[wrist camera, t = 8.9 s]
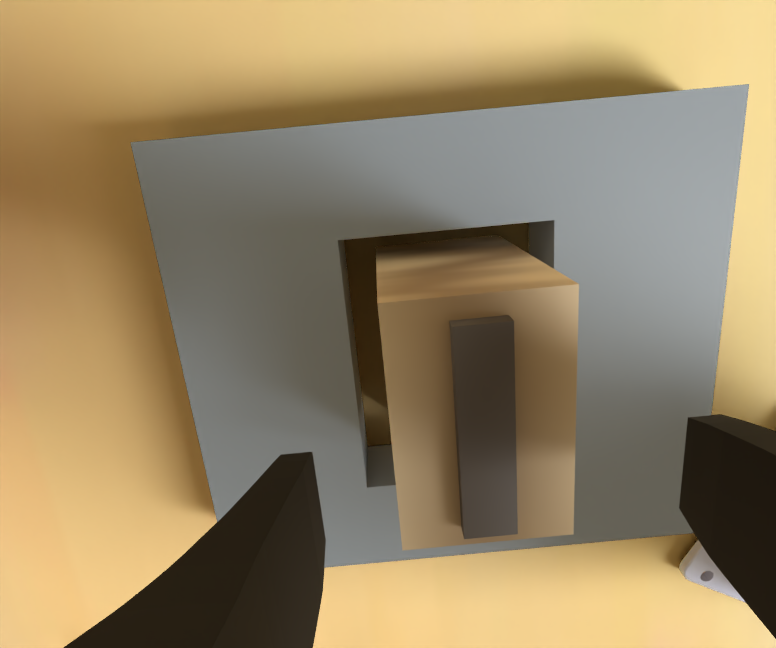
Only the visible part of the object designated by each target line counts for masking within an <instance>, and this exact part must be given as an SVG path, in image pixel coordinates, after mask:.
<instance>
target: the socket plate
mask: <svg viewBox="0 0 776 648" xmlns="http://www.w3.org/2000/svg"><path fill="white" fill-rule="evenodd" d="M748 89H749V84H745V85H735V86H724V87H714V88H703V89H692V90H682V91H671V92H660V93H650V94H639V95H629V96H618V97H607V98H597V99H586V100H575V101H565V102H554V103H543V104H533V105H522V106H512V107H501V108H490V109H480V110H469V111H458V112H448V113H437V114H427V115H416V116H405V117H395V118H384V119H373V120H363V121H352V122H342V123H331V124H320V125H310V126H299V127H288V128H278V129H267V130H257V131H246V132H235V133H225V134H214V135H203V136H193V137H182V138H172V139H161V140H150V141H140V142H131V147H132V151H133V156H134V160H135V164H136V169H137V173H138V177H139V182H140V186H141V190H142V195H143V199H144V204H145V208H146V212H147V217H148V221H149V225H150V230H151V234H152V239H153V243H154V247H155V252H156V256H157V260H158V265H159V269H160V274H161V278H162V282H163V287H164V291H165V295H166V300H167V304H168V309H169V313H170V317H171V322H172V326H173V330H174V335H175V339H176V343H177V348H178V352H179V357H180V361H181V365H182V370H183V374H184V378H185V383H186V387H187V392H188V396H189V400H190V405H191V409H192V413H193V418H194V422H195V427H196V431H197V435H198V440H199V444H200V448H201V453H202V457H203V462H204V466H205V470H206V475H207V479H208V483H209V488H210V492H211V497H212V501H213V505H214V510H215V514H216V518H217V522H218V521H219V520H220V519H221V518H222V517H223V516H224V515H225V514H226V513H227V512H228V511H229V510H230V509H231V508H232V507H233V506H234V505H235V504H236V502H237V501H238V500H239V499H240V498H241V497H242V496H243V495H244V494H245V493H246V492H247V491H248V490H249V489H250V487H251V486H252V485H253V484H254V483H255V482H256V481H257V480H258V479H259V478H260V476H261V475H262V474H263V473H264V472H265V471H266V470H267V469H268V468H269V467H270V465H271V464H272V463H273V462H274V461H275V460H276V459H277V458H278V457H279V456H280V455H281V454H292V453H303V452H312V453H313V459H314V466H315V472H316V479H317V486H318V492H319V499H320V505H321V512H322V518H323V525H324V531H325V538H326V546H325V564H324V567H335V566H346V565H357V564H367V563H378V562H389V561H400V560H410V559H421V558H432V557H443V556H453V555H464V554H475V553H486V552H496V551H507V550H518V549H529V548H539V547H550V546H561V545H572V544H582V543H593V542H604V541H615V540H625V539H636V538H647V537H658V536H668V535H679V534H690V533H694V532H693V531H692V529H691V527H690V526H689V524H688V522H687V521H686V519H685V517H684V516H683V514H682V512H681V511H680V509H679V503H680V493H681V482H682V472H683V462H684V451H685V441H686V431H687V420H688V417H698V416H709V415H711V413H712V404H713V395H714V387H715V378H716V369H717V360H718V352H719V343H720V334H721V325H722V317H723V308H724V299H725V290H726V282H727V273H728V264H729V255H730V247H731V238H732V229H733V220H734V212H735V203H736V194H737V185H738V176H739V168H740V159H741V150H742V141H743V133H744V124H745V115H746V106H747V98H748ZM517 223H528V226H529V254H530V255H532V256H533V257H535V258H537V259H538V260H540V261H542V262H543V263H545V264H547V265H548V266H550V267H552V268H553V269H555V270H557V271H558V272H560V273H562V274H563V275H565V276H566V277H568V278H570V279H571V280H573V281H575V282H576V283H578V284H579V307H578V352H577V397H576V442H575V486H574V531H573V534H572V535H561V536H551V537H540V538H530V539H519V540H509V541H498V542H488V543H477V544H466V545H456V546H445V547H435V548H424V549H414V550H403V551H402V541H401V531H400V521H399V511H398V502H397V492H396V482H395V472H394V462H393V452H392V444H390V445H380V446H369V447H368V444H367V436H366V427H365V418H364V410H363V401H362V392H361V384H360V375H359V366H358V358H357V349H356V341H355V332H354V323H353V315H352V306H351V297H350V289H349V280H348V271H347V263H346V254H345V245H344V240H347V239H357V238H368V237H379V236H389V235H400V234H411V233H421V232H432V231H443V230H453V229H464V228H475V227H485V226H496V225H507V224H517Z"/></svg>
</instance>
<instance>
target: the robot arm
mask: <svg viewBox="0 0 776 648" xmlns="http://www.w3.org/2000/svg"><path fill="white" fill-rule="evenodd" d="M679 509H680V511H681V512H682V514H683V516H684V517H685V519H686V521H687V522H688V524H689V526H690V527H691V529H692V531H693V532H694V534H695V536H696V537H697V539H698V540H697V542H696V543H695V544H694V545H693V547H692V548H691V549H690V551H689V552H688V553H687V555H686V556H685V557H684V559H683V560H682V561H681V563H680V565H679V570H680V572H681V573H682V574H683V576H684V577H685V578H686V579H687V580H689V581H691V582H694V583H696V584H699V585H702V586H704V587H707V588H709V589H712V590H714V591H717V592H720V593H722V594H725V595H727V596H730V597H732V598H735V599H738V600H740V601H743V602H745V603H747V604H748V606H749V607H750V608H751V609H752V610H753V612H754V613H755V614H756V615H757V617H758V618H759V619H760V620H761V621H762V623H763V624H764V625H765V626H766V628H767V629H768V630H769V631H770V632H771V634H772V635H773V636H774V637H775V638H776V432H775V431H773V430H770V429H767V428H764V427H761V426H758V425H755V424H752V423H749V422H746V421H742V420H739V419H736V418H732V417H728V416H724V415H720V414H719V415H709V416H698V417H688V420H687V431H686V441H685V451H684V462H683V472H682V482H681V493H680V503H679ZM325 546H326V538H325V531H324V525H323V518H322V512H321V505H320V499H319V492H318V486H317V479H316V472H315V466H314V459H313V453H312V452H303V453H292V454H281V455H280V456H279V457H278V458H277V459H276V460H275V461H274V462H273V463H272V464H271V465H270V467H269V468H268V469H267V470H266V471H265V472H264V473H263V474H262V475H261V476H260V478H259V479H258V480H257V481H256V482H255V483H254V484H253V485H252V486H251V487H250V489H249V490H248V491H247V492H246V493H245V494H244V495H243V496H242V497H241V498H240V499H239V500H238V501H237V502H236V504H235V505H234V506H233V507H232V508H231V509H230V510H229V511H228V512H227V513H226V514H225V515H224V516H223V517H222V518H221V519H220V520H219V521H218V522H217V523H216V524H215V525H214V526H213V527H212V528H211V529H210V530H209V531H208V532H207V533H206V534H205V535H204V536H202V537H201V538H200V539H199V540H198V541H197V542H196V543H195V544H194V545H193V546H192V547H191V548H190V549H189V550H188V551H187V552H186V553H185V554H184V555H183V556H182V557H180V558H179V559H178V560H177V561H176V562H175V563H174V564H173V565H171V566H170V567H169V568H168V569H167V570H166V571H164V572H163V573H162V574H161V575H160V576H159V577H157V578H156V579H155V580H154V581H153V582H151V583H150V584H149V585H148V586H146V587H145V588H144V589H143V590H141V591H140V592H139V593H138V594H136V595H135V596H134V597H133V598H131V599H130V600H129V601H128V602H126V603H125V604H124V605H122V606H121V607H120V608H118V609H117V610H116V611H115V612H113V613H112V614H110V615H109V616H108V617H106V618H105V619H103V620H102V621H100V622H99V623H98V624H96V625H95V626H93V627H92V628H91V629H89V630H88V631H86V632H85V633H84V634H82V635H81V636H79V637H78V638H76V639H75V640H74V641H72V642H71V643H69V644H68V645H67V646H65V647H64V648H313V643H314V637H315V632H316V626H317V620H318V615H319V609H320V604H321V598H322V592H323V579H324V564H325ZM703 572H704V573H703Z"/></svg>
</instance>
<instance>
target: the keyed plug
mask: <svg viewBox="0 0 776 648" xmlns="http://www.w3.org/2000/svg"><path fill="white" fill-rule="evenodd" d="M376 273H377V305H378V314H379V324H380V334H381V344H382V354H383V364H384V374H385V383H386V393H387V403H388V413H389V423H390V433H391V442H392V452H393V462H394V472H395V482H396V492H397V502H398V511H399V521H400V531H401V541H402V551H403V550H414V549H424V548H435V547H445V546H456V545H466V544H477V543H488V542H498V541H509V540H519V539H530V538H540V537H551V536H561V535H572V534H573V531H574V486H575V442H576V397H577V352H578V307H579V284H578V283H576V282H575V281H573V280H571V279H570V278H568V277H566V276H565V275H563V274H562V273H560V272H558V271H557V270H555V269H553V268H552V267H550V266H548V265H547V264H545V263H543V262H542V261H540V260H538V259H537V258H535V257H533V256H532V255H530V254H528V253H527V252H525V251H523V250H522V249H520V248H518V247H517V246H515V245H513V244H512V243H510V242H509V241H507V240H505V239H504V238H502V237H500V236H499V235H493V236H482V237H472V238H461V239H451V240H440V241H430V242H420V243H409V244H399V245H388V246H378V247H376Z"/></svg>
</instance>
